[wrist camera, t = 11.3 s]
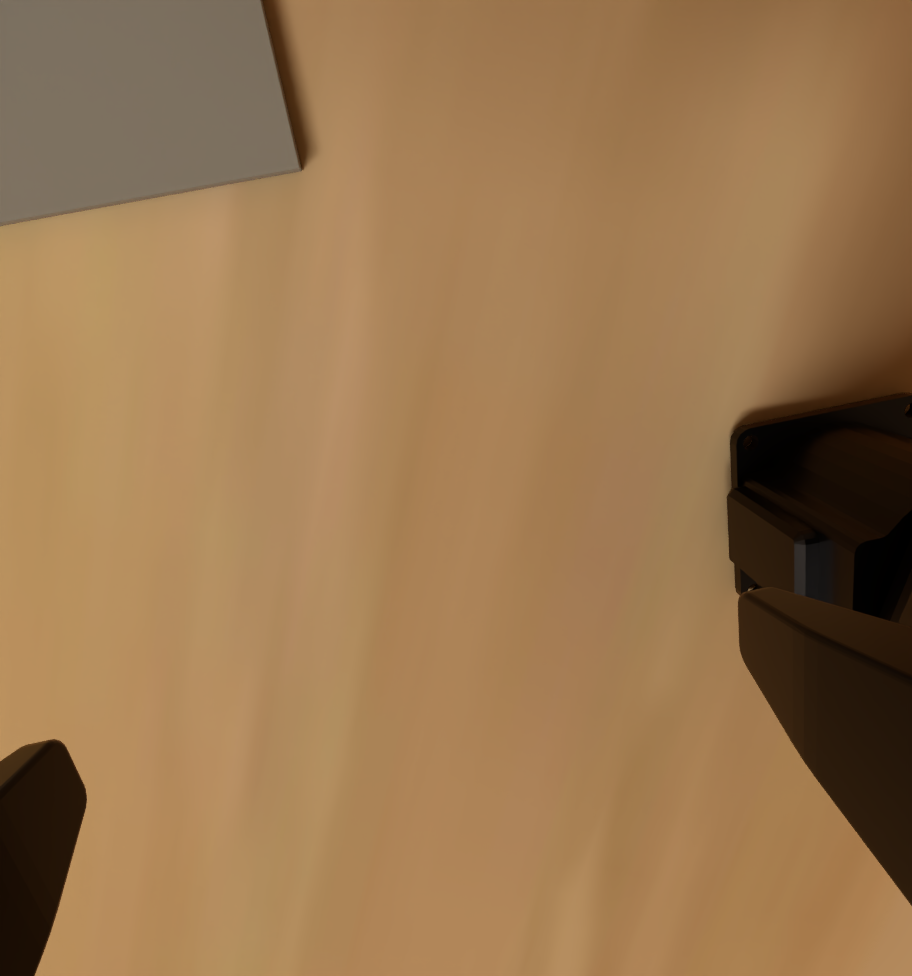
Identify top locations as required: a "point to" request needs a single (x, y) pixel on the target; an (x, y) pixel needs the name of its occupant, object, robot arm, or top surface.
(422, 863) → the top surface
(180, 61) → the mat
